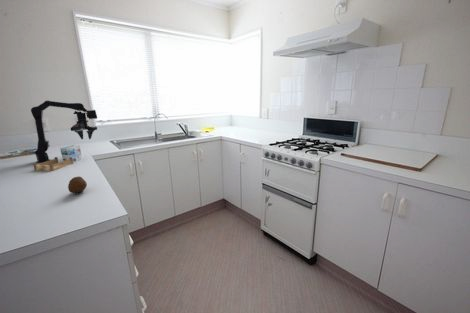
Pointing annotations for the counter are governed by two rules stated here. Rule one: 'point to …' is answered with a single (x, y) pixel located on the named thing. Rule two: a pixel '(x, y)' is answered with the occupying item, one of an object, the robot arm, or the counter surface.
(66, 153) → the light bulb box
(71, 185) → the potato
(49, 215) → the counter surface
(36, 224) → the counter surface
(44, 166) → the wooden frame
